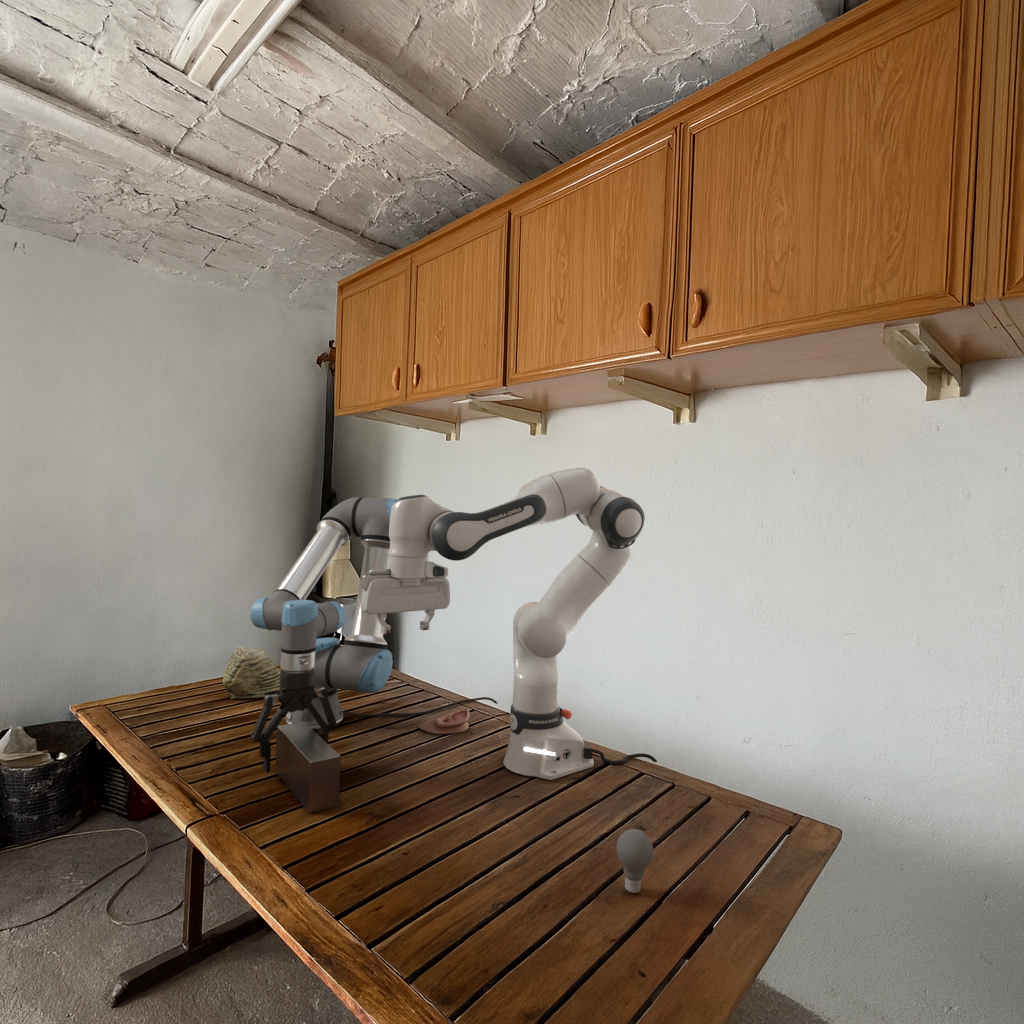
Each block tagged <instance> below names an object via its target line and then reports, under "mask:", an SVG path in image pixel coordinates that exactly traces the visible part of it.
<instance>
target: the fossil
mask: <svg viewBox="0 0 1024 1024" xmlns="http://www.w3.org/2000/svg"><path fill="white" fill-rule="evenodd" d="M280 672H281V669H279V668H278V667H277V665H276V663H275V662H274V660H273V659H272V658H271V657H270V656H269V655H268V654H267V653H266V652H265V650H264V649H263V648H260V647H258V648H251V647H247V646H246V647H245V646H238V647H237V648H236V649H235V650H233V651H232V653H231V656H230V657H229V659H228V660H227V663H226V666H225V668H224V671H223V675H222V676H223V677H222V685H223V687H224V688H225V690H226V691H228V693H229V698H230V699H250V698H264V696H265V695H266V694H268V695H270V696H271V695H277V694H278V693H279V689H280Z"/></svg>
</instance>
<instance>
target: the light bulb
mask: <svg viewBox="0 0 1024 1024" xmlns="http://www.w3.org/2000/svg"><path fill="white" fill-rule="evenodd" d="M615 849H616V854H617V857H618V859H619V861H620V863H621V865H622V867H623V873H624V874H623V875H624V876H625V878H624V888H625V890H627V891H628V892H630V893H634V894H635V893H639V892H640V891H641V889H642V887H641V886H642V879H643V877H644V875H645V871H646V868H647V867H648V866H649V864H650V863H651V861H652V859H653V855H654V847H653V843H652V841H651V838H649V836H648V835H647V834H646V833H645V832H643V831H642V830H641V829H636V828H629V829H627V830H625V831H623V832H622V833H621V834H620V835H619V837H618V839H617V841H616V847H615Z"/></svg>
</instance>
